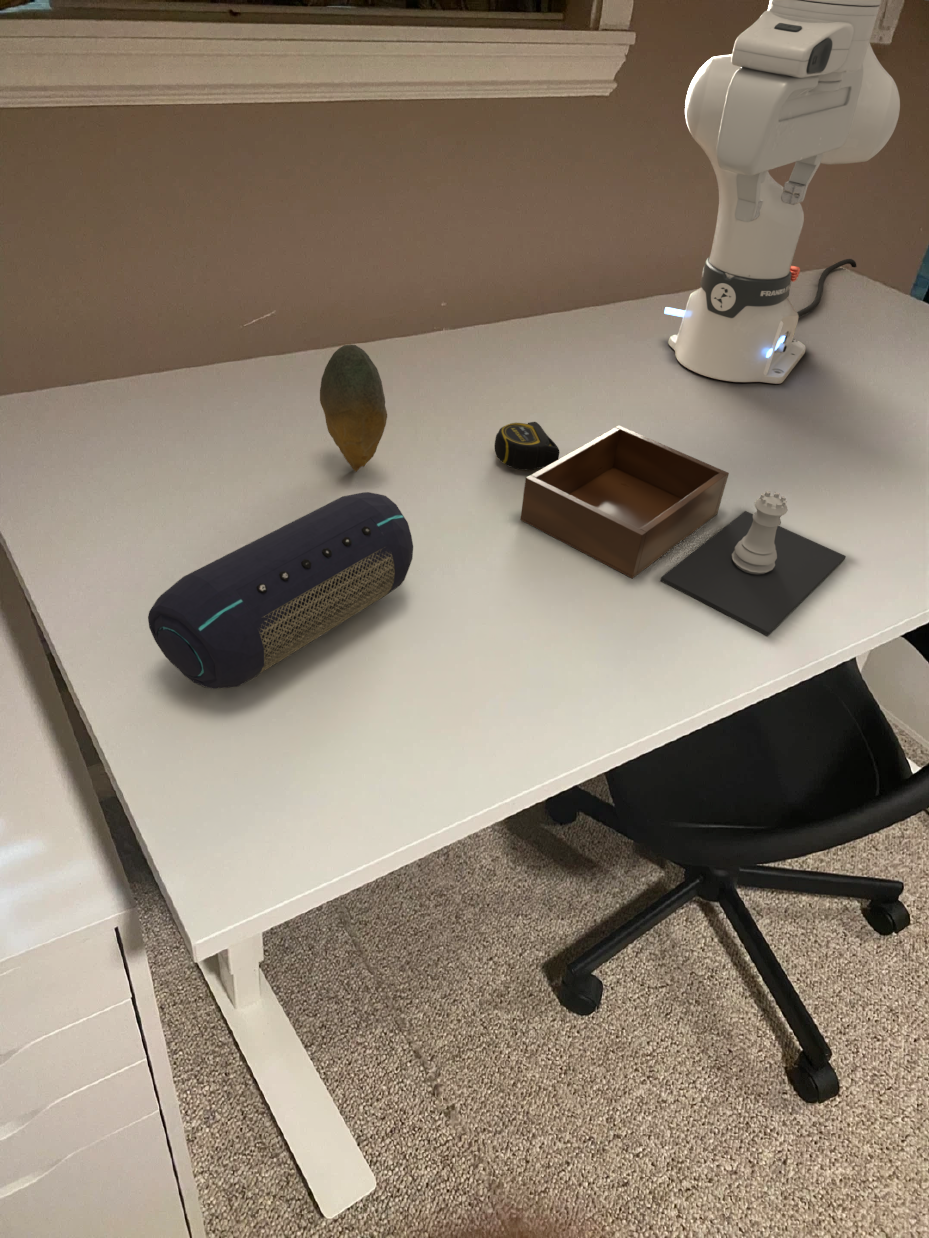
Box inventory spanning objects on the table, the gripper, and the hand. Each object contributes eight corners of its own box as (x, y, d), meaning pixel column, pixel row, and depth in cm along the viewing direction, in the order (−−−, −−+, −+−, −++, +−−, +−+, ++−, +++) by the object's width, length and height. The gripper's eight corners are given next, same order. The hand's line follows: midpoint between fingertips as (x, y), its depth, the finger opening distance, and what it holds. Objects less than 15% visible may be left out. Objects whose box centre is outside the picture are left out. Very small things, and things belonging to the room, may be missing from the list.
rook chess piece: (722, 562, 95) (742, 497, 90) (743, 546, 97) (764, 481, 92) (760, 582, 92) (783, 515, 87) (781, 564, 95) (804, 499, 90)
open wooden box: (610, 464, 110) (618, 424, 107) (717, 513, 103) (729, 472, 100) (520, 519, 99) (525, 477, 96) (632, 578, 92) (642, 535, 89)
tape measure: (558, 473, 108) (563, 444, 105) (504, 479, 106) (507, 450, 103) (537, 445, 113) (541, 417, 110) (485, 450, 111) (488, 422, 108)
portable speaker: (219, 729, 73) (205, 634, 66) (145, 669, 77) (125, 575, 71) (430, 593, 88) (435, 505, 82) (357, 550, 93) (356, 464, 87)
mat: (744, 514, 103) (745, 510, 103) (844, 559, 98) (846, 555, 97) (660, 580, 92) (661, 576, 92) (767, 636, 87) (769, 632, 86)
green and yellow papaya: (399, 482, 104) (402, 356, 94) (353, 497, 101) (351, 368, 91) (353, 445, 109) (352, 324, 100) (309, 458, 106) (303, 334, 97)
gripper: (830, 28, 86) (787, 186, 94) (724, 41, 73) (686, 221, 82) (895, 39, 83) (845, 201, 91) (796, 54, 70) (749, 240, 79)
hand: (769, 211), depth 87 cm, fingers open, 8 cm apart
